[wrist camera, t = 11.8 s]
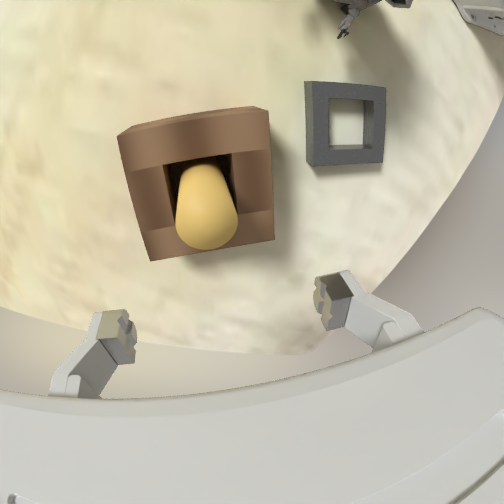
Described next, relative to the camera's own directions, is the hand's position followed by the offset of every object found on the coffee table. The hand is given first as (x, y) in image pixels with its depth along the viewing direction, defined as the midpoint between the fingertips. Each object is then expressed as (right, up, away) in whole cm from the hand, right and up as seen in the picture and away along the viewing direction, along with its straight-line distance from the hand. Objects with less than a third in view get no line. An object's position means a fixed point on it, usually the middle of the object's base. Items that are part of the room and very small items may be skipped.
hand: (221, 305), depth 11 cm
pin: (-4, +10, +16) cm, 20 cm away
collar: (+11, +16, +16) cm, 25 cm away
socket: (-4, +10, +16) cm, 20 cm away
